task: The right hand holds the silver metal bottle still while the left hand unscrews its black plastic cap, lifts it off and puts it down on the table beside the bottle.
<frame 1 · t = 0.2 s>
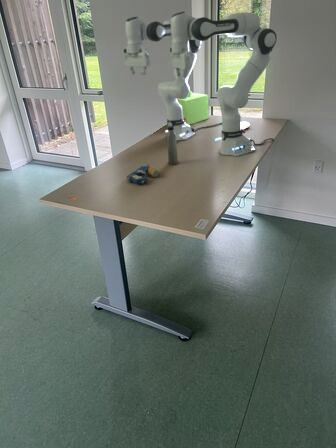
left hand: (138, 74, 205), 48 cm above the table, tool pointing down, fingers open, 8 cm apart
right hand: (181, 77, 182), 48 cm above the table, tool pointing down, fingers open, 8 cm apart
light green block: (189, 120, 289), on the table
bottle: (173, 163, 205), on the table
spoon: (240, 131, 250), on the table
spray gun: (144, 177, 189), on the table
cap: (170, 127, 193), point 22 cm above the table, screwed on, not yet turned
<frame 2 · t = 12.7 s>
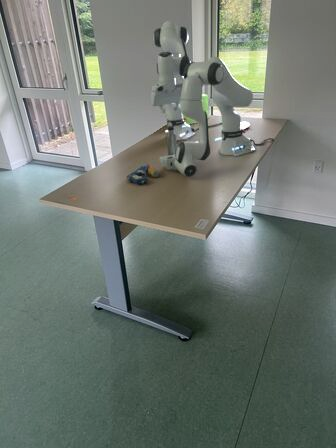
left hand: (169, 111, 189), 31 cm above the table, tool pointing down, fingers open, 6 cm apart
right hand: (172, 154, 203), 5 cm above the table, tool horizontal, fingers closed on bottle, 5 cm apart
bottle: (173, 163, 205), on the table, touching right hand
everything else where it was.
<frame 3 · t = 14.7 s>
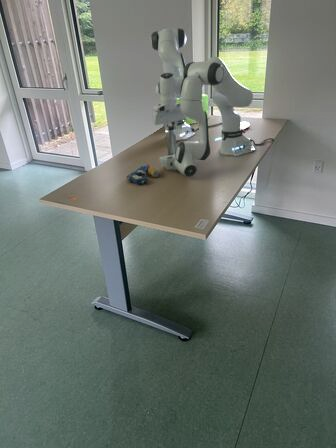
left hand: (170, 129, 194), 21 cm above the table, tool pointing down, fingers closed on cap, 4 cm apart
right hand: (172, 154, 203), 5 cm above the table, tool horizontal, fingers closed on bottle, 5 cm apart
bottle: (173, 163, 205), on the table, touching right hand
cap: (170, 127, 193), point 22 cm above the table, screwed on, not yet turned, touching left hand
everything else where it was.
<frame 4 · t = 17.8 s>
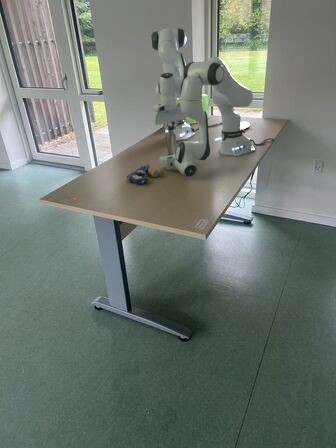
left hand: (170, 129, 194), 21 cm above the table, tool pointing down, fingers closed on cap, 4 cm apart
right hand: (172, 154, 203), 5 cm above the table, tool horizontal, fingers closed on bottle, 5 cm apart
bottle: (173, 163, 205), on the table, touching right hand
cap: (170, 127, 193), point 22 cm above the table, turned 81° so far, risen 0.1 cm, still on its thread, touching left hand
everything else where it was.
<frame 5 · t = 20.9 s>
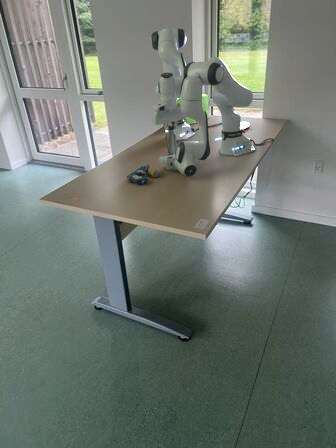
left hand: (170, 129, 194), 21 cm above the table, tool pointing down, fingers closed on cap, 4 cm apart
right hand: (172, 154, 203), 5 cm above the table, tool horizontal, fingers closed on bottle, 5 cm apart
bottle: (173, 163, 205), on the table, touching right hand
cap: (170, 126, 193), point 22 cm above the table, turned 162° so far, risen 0.2 cm, still on its thread, touching left hand
everything else where it was.
when the left hand's fingers open (2 cm above the table, at t = 37.5 s): cap drops 2 cm, point 1 cm above the table.
when the right hand's fingers open (5 cm above the table, at t = 38.7 s): bottle stays where it is, on the table.
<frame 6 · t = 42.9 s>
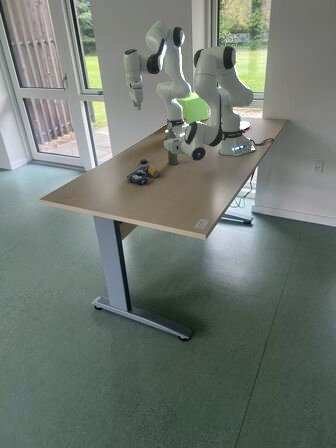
left hand: (137, 108, 192), 33 cm above the table, tool pointing down, fingers open, 8 cm apart
right hand: (177, 138, 186), 18 cm above the table, tool horizontal, fingers open, 8 cm apart
bottle: (173, 163, 205), on the table
cap: (143, 160, 208), point 1 cm above the table, off its thread
everything else where it was.
at the end: cap came off its thread; cap point 1.4 cm above the table; the left hand is holding nothing; the right hand is holding nothing; bottle tilted 0°; bottle moved 0.1 cm from its start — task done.
